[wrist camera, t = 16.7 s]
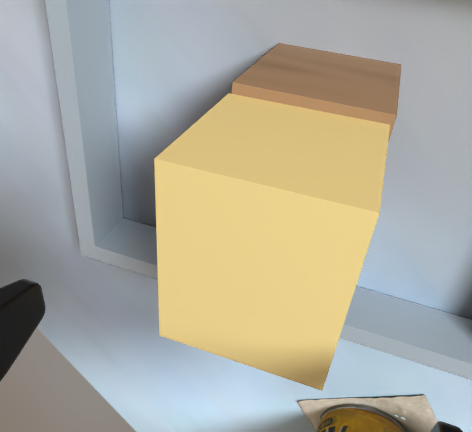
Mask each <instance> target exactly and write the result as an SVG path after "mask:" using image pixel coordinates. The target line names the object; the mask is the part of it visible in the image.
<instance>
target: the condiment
mask: <svg viewBox="0 0 472 432" xmlns="http://www.w3.org/2000/svg"><path fill="white" fill-rule="evenodd" d="M298 403H299V405H300V407H301V408H302V410H303V411H304V413H305V414H306V416H307V418H308V419H309V420H310V422H311V423H312V425H313V427H314V428H315V430H316V431H317V432H430V431H431V430H432V428H433V427H434V425H435V424H436V423H437V420H436V418H435V415H434V413H433V410H432V408H431V407H430V405H429V402H428V400H427V398H426V396H425V395H424V396H414V397H404V396H400V397H394V398H374V399H373V398H341V399H319V400H303V401H300V402H298ZM394 415H398V417H396V416H394ZM400 417H404V418H405V419H406V420H404V419H402V418H400Z"/></svg>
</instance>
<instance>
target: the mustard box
mask: <svg viewBox="0 0 472 432" xmlns="http://www.w3.org/2000/svg"><path fill="white" fill-rule="evenodd" d="M389 131H390V125H389V124H384V123H379V122H373V121H368V120H363V119H358V118H353V117H348V116H343V115H338V114H332V113H327V112H322V111H317V110H312V109H307V108H302V107H297V106H291V105H286V104H281V103H276V102H271V101H266V100H261V99H256V98H250V97H245V96H240V95H235V94H230V93H228V94H227V95H226V96H225V97H224V98H223V99H222V100H220V101H219V102H218V103H217V104H216V105H215V106H214V107H212V108H211V109H210V110H209V111H208V112H207V113H206V114H204V115H203V116H202V117H201V118H200V119H199V120H198V121H197V122H195V123H194V124H193V125H192V126H191V127H190V128H189V129H187V130H186V131H185V132H184V133H183V134H182V135H181V136H180V137H178V138H177V139H176V140H175V141H174V142H173V143H172V144H170V145H169V146H168V147H167V148H166V149H165V150H164V151H163V152H161V153H160V154H159V155H158V156H157V157H156V158H155V159H154V166H155V199H156V233H157V267H158V300H159V334H160V336H163V337H166V338H169V339H172V340H175V341H177V342H180V343H183V344H186V345H189V346H192V347H195V348H198V349H201V350H204V351H207V352H210V353H213V354H216V355H219V356H222V357H225V358H228V359H231V360H234V361H236V362H239V363H242V364H245V365H248V366H251V367H254V368H257V369H260V370H263V371H266V372H269V373H272V374H275V375H278V376H281V377H284V378H287V379H290V380H293V381H295V382H298V383H301V384H304V385H307V386H310V387H313V388H316V389H319V390H323V387H324V383H325V380H326V377H327V374H328V371H329V368H330V365H331V362H332V359H333V356H334V352H335V349H336V346H337V343H338V340H339V337H340V334H341V331H342V328H343V325H344V322H345V318H346V315H347V312H348V309H349V306H350V303H351V300H352V297H353V294H354V291H355V288H356V284H357V281H358V278H359V275H360V272H361V269H362V266H363V263H364V260H365V257H366V253H367V250H368V247H369V244H370V241H371V238H372V235H373V232H374V229H375V226H376V223H377V219H378V216H379V213H380V206H381V197H382V189H383V181H384V172H385V164H386V156H387V147H388V139H389Z"/></svg>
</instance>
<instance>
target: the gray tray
mask: <svg viewBox="0 0 472 432" xmlns="http://www.w3.org/2000/svg"><path fill="white" fill-rule="evenodd" d="M45 5H46V12H47V19H48V26H49V33H50V40H51V47H52V54H53V61H54V68H55V75H56V82H57V89H58V96H59V103H60V110H61V117H62V124H63V132H64V139H65V146H66V153H67V160H68V167H69V174H70V181H71V188H72V195H73V202H74V209H75V216H76V223H77V230H78V237H79V244H80V252H81V255H83V256H86V257H89V258H92V259H95V260H98V261H101V262H104V263H108V264H111V265H114V266H117V267H120V268H123V269H126V270H129V271H133V272H136V273H139V274H142V275H145V276H148V277H151V278H154V279H158V267H157V233H156V227H153V226H149V225H146V224H143V223H139V222H136V221H132V220H129V219H125V218H123V206H122V191H121V176H120V160H119V145H118V130H117V114H116V99H115V84H114V68H113V53H112V38H111V22H110V7H109V0H45ZM339 338H342V339H345V340H348V341H351V342H354V343H358V344H361V345H364V346H367V347H370V348H373V349H376V350H379V351H383V352H386V353H389V354H392V355H395V356H398V357H401V358H404V359H408V360H411V361H414V362H417V363H420V364H423V365H426V366H429V367H433V368H436V369H439V370H442V371H445V372H448V373H451V374H454V375H458V376H461V377H464V378H467V379H470V380H472V320H471V319H468V318H464V317H461V316H457V315H454V314H451V313H447V312H444V311H440V310H437V309H433V308H430V307H427V306H423V305H420V304H416V303H413V302H409V301H406V300H403V299H399V298H396V297H392V296H389V295H386V294H382V293H379V292H375V291H372V290H368V289H365V288H362V287H358V286H356V288H355V291H354V294H353V297H352V300H351V303H350V306H349V309H348V312H347V315H346V318H345V322H344V325H343V328H342V331H341V334H340V337H339Z"/></svg>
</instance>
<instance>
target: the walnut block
mask: <svg viewBox="0 0 472 432" xmlns="http://www.w3.org/2000/svg"><path fill="white" fill-rule="evenodd" d="M400 74H401V64H396V63H390V62H384V61H379V60H373V59H367V58H361V57H356V56H350V55H344V54H338V53H333V52H327V51H321V50H315V49H310V48H304V47H298V46H293V45H287V44H281V43H278V44H277V45H276V46H275V47H274V48H273V49H271V50H270V51H269V52H268V53H267V54H265V55H264V56H263V57H262V58H261V59H259V60H258V61H257V62H256V63H255V64H254V65H252V66H251V67H250V68H249V69H248V70H246V71H245V72H244V73H243V74H242V75H240V76H239V77H238V78H237V79H236V80H235V81H233V82H232V93H231V94H235V95H240V96H245V97H250V98H256V99H261V100H266V101H271V102H276V103H281V104H286V105H291V106H297V107H302V108H307V109H312V110H317V111H322V112H327V113H332V114H338V115H343V116H348V117H353V118H358V119H363V120H368V121H373V122H379V123H384V124H389V125H390V131H389V138H390V135H391V132H392V129H393V126H394V123H395V119H396V116H397V108H398V97H399V85H400ZM388 142H389V139H388Z"/></svg>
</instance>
